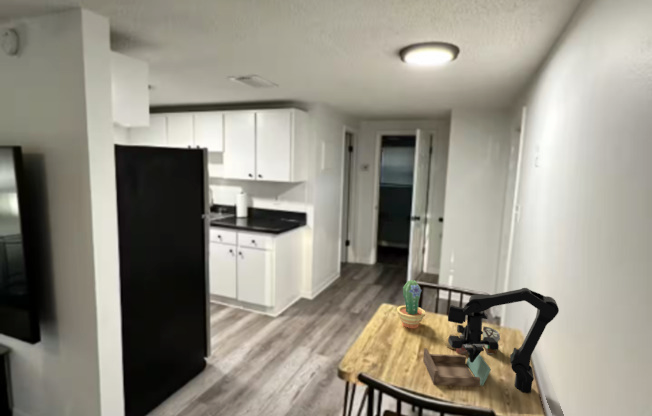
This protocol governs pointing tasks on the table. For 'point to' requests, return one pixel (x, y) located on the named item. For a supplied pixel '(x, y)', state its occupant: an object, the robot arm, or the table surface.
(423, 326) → the table surface
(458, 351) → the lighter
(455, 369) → the truck bed
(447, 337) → the onion
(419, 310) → the potted cactus
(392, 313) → the table surface
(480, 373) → the tailgate
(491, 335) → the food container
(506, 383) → the table surface
